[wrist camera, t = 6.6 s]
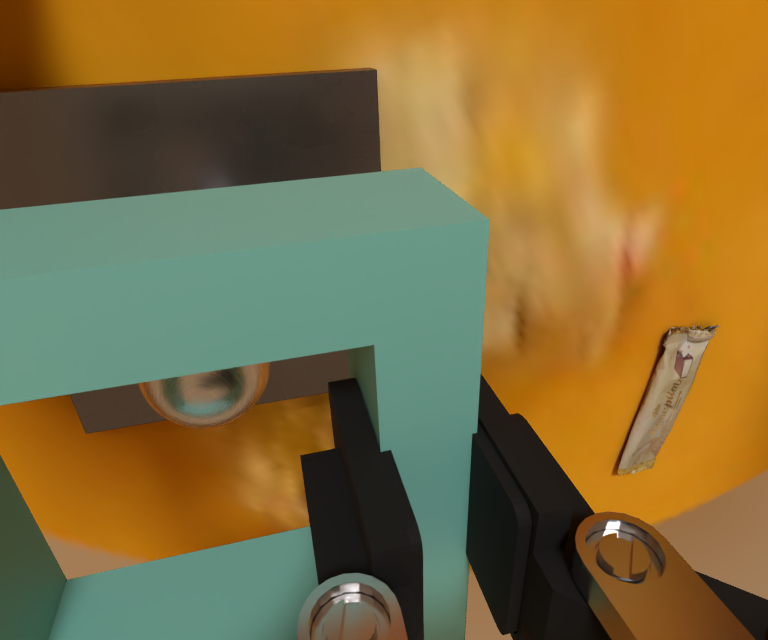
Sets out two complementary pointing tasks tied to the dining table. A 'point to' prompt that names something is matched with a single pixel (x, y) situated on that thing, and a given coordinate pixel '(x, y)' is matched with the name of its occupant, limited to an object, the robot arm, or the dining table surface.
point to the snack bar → (664, 396)
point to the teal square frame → (241, 348)
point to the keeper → (186, 173)
